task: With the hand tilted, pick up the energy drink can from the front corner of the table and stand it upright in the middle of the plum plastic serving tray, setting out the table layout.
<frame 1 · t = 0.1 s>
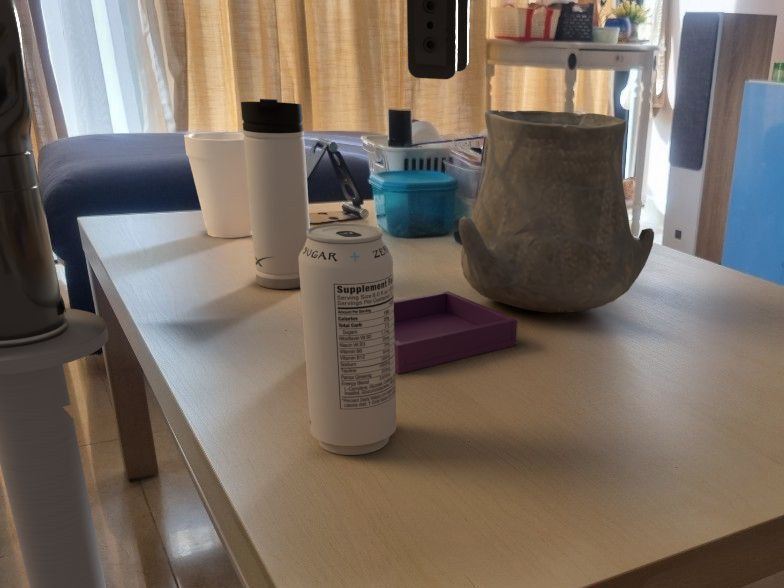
hand: (441, 74, 43), 25 cm above the table, tool pointing down, fingers open, 8 cm apart
tray: (425, 341, 80), on the table
travel mug: (285, 284, 96), on the table
vessel: (543, 301, 95), on the table
energy drink can: (354, 441, 60), on the table
foam cup: (231, 234, 117), on the table
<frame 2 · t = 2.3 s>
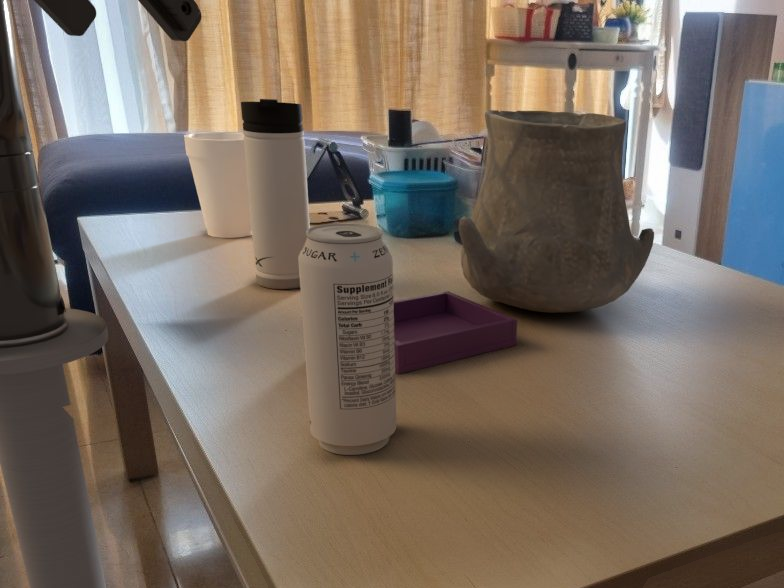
hand: (135, 27, 47), 26 cm above the table, tool tilted 45°, fingers open, 8 cm apart
nothing on the table moved.
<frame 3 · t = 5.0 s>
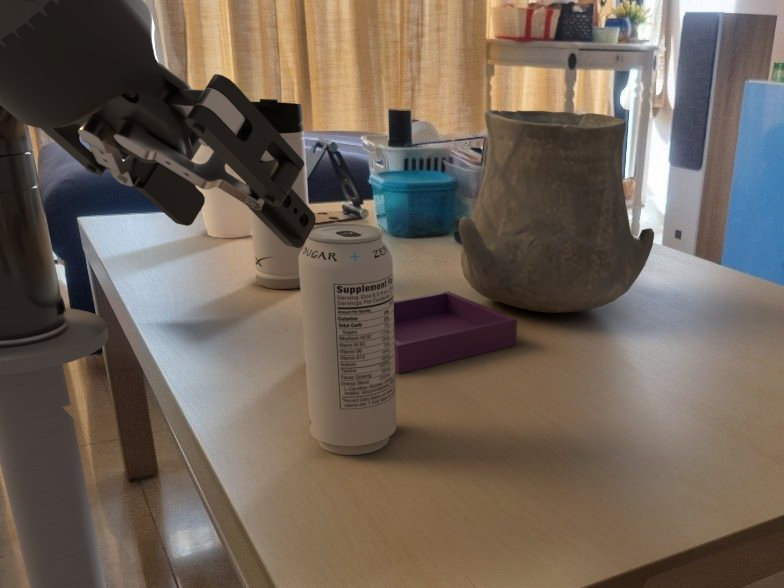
hand: (246, 222, 47), 17 cm above the table, tool tilted 45°, fingers open, 8 cm apart
nothing on the table moved.
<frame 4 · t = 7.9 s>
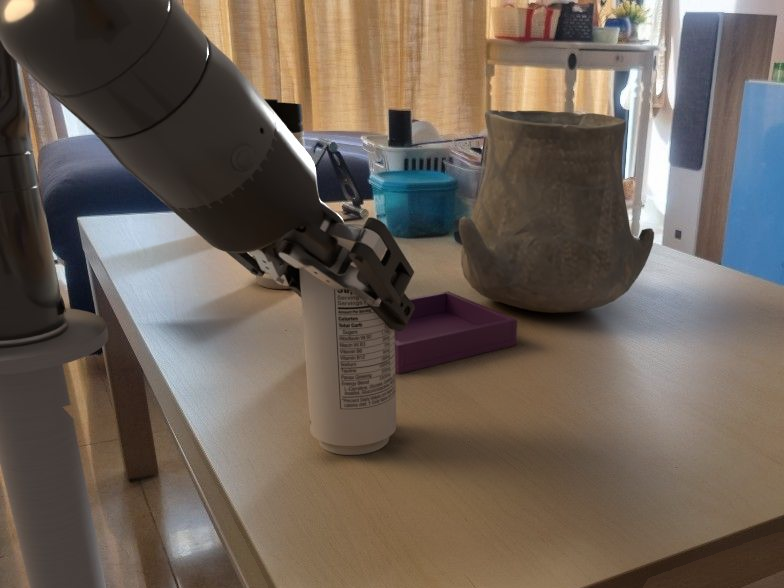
hand: (364, 309, 58), 9 cm above the table, tool tilted 45°, fingers closed on energy drink can, 6 cm apart
energy drink can: (354, 441, 60), on the table, touching gripper
everything else where it was.
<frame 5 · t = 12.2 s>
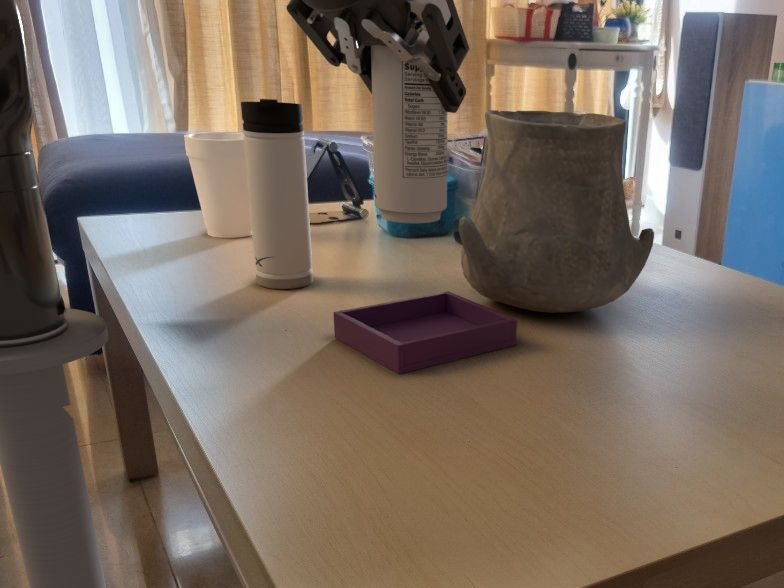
hand: (422, 100, 68), 22 cm above the table, tool tilted 45°, fingers closed on energy drink can, 6 cm apart
energy drink can: (411, 219, 71), point 12 cm above the table, touching gripper
everything else where it was.
when the fingers open (10 cm above the table, at t = 16.5 s): energy drink can stays where it is, resting on tray.
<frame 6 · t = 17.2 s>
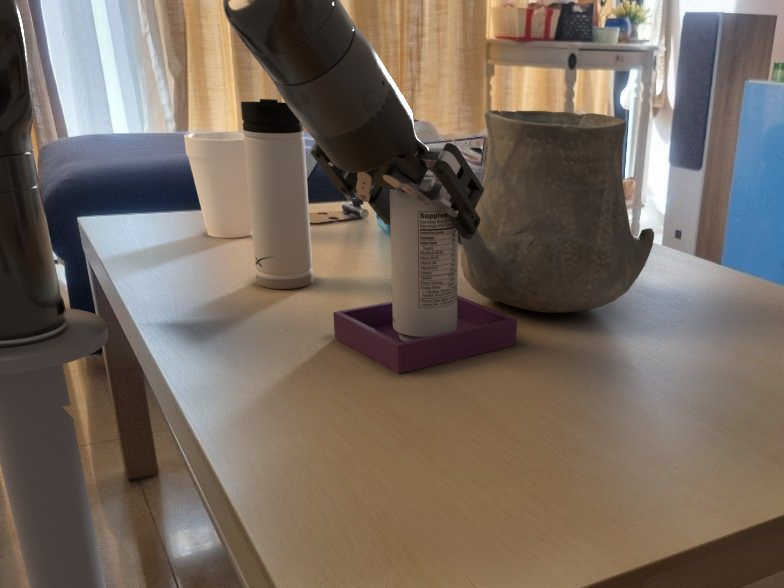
hand: (432, 224, 76), 11 cm above the table, tool tilted 45°, fingers open, 8 cm apart
energy drink can: (425, 338, 79), resting on tray
everything else where it was.
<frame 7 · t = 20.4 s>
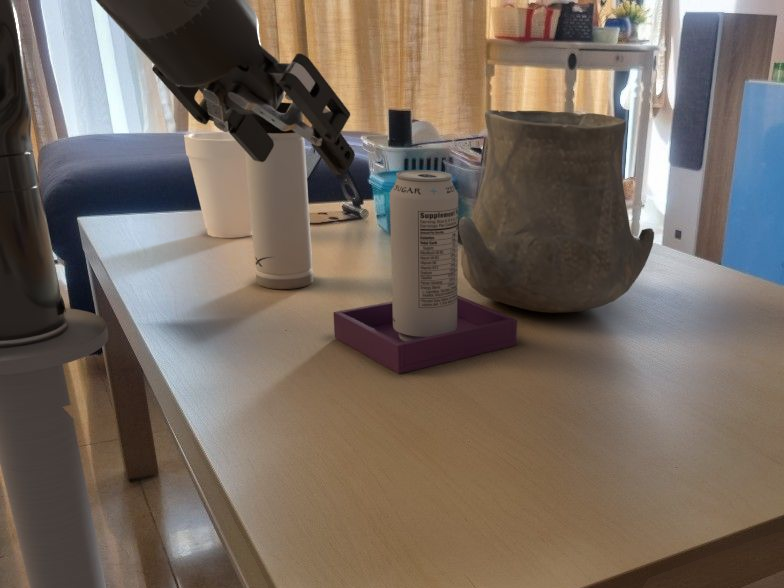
hand: (305, 159, 67), 17 cm above the table, tool tilted 45°, fingers open, 8 cm apart
nothing on the table moved.
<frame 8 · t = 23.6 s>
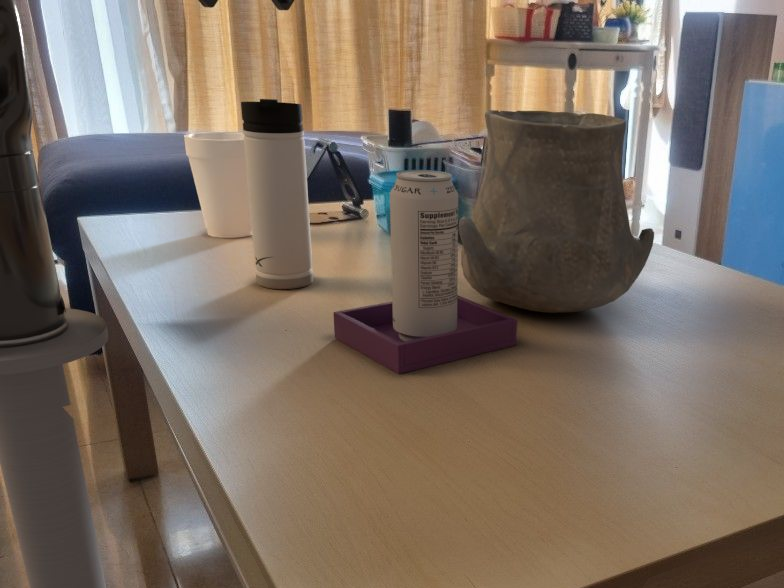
hand: (251, 1, 70), 29 cm above the table, tool tilted 45°, fingers open, 8 cm apart
nothing on the table moved.
at the end: energy drink can inside the target area in the tray (0.1 cm from its centre), point 0.4 cm above the tray's base; energy drink can tilted 0° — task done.
